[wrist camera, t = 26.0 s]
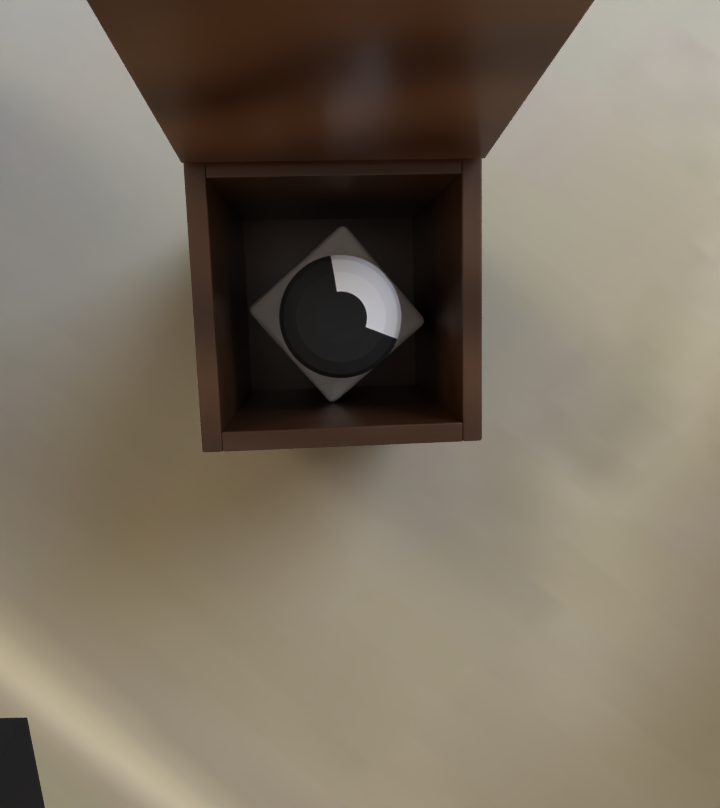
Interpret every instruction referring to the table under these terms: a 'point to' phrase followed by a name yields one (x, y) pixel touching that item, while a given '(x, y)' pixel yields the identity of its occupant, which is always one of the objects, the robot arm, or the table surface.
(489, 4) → the lid
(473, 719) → the table surface
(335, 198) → the chest
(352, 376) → the medicine bottle
